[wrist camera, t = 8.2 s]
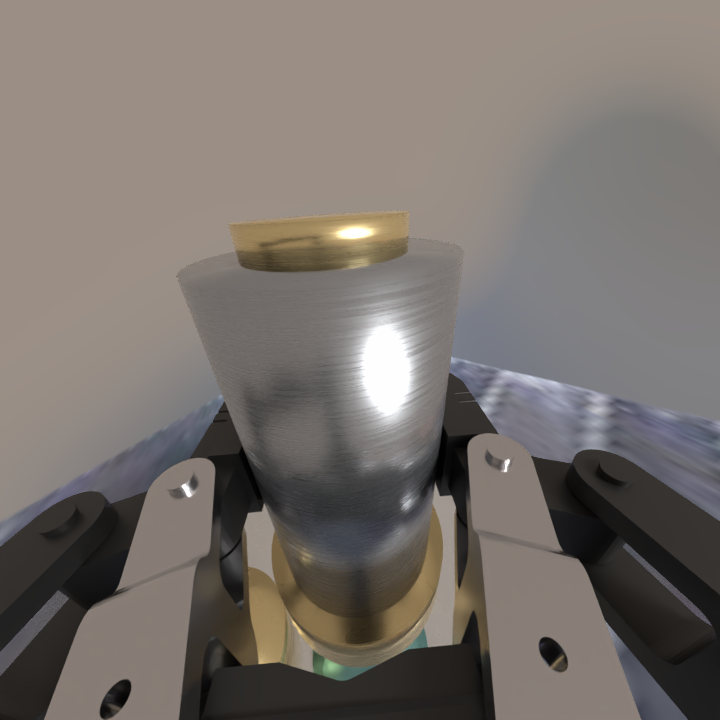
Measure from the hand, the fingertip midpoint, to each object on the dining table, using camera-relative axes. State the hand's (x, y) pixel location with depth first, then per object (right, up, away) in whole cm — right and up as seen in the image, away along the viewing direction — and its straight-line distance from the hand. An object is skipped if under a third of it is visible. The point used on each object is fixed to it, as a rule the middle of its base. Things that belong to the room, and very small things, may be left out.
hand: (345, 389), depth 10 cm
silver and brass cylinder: (+1, -7, +1) cm, 7 cm away
